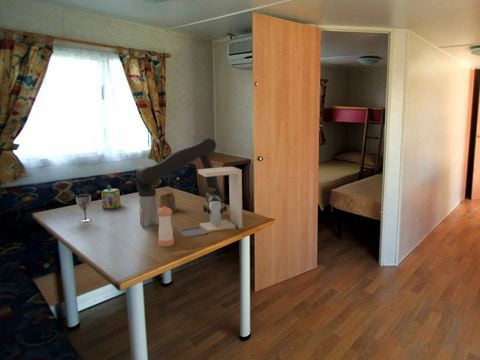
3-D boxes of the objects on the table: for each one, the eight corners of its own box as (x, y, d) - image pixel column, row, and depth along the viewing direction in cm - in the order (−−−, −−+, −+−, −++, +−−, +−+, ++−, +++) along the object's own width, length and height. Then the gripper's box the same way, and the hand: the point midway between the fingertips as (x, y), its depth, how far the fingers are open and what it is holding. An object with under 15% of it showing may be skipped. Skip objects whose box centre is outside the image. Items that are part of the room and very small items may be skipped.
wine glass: (87, 217, 214) (84, 193, 211) (96, 219, 210) (93, 195, 207) (75, 221, 207) (72, 196, 204) (84, 223, 203) (81, 198, 200)
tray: (184, 239, 176) (184, 236, 175) (178, 232, 186) (178, 229, 186) (207, 235, 181) (207, 232, 180) (200, 228, 191) (199, 226, 191)
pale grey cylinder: (212, 224, 187) (211, 204, 185) (208, 221, 193) (207, 202, 191) (222, 223, 190) (222, 203, 188) (218, 220, 195) (218, 200, 193)
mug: (146, 211, 226) (145, 192, 224) (171, 206, 237) (170, 188, 235) (155, 215, 218) (154, 196, 215) (180, 209, 229) (179, 191, 227)
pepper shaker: (155, 246, 168) (152, 207, 164) (166, 241, 174) (164, 203, 170) (166, 249, 164) (164, 209, 160) (177, 244, 170) (175, 205, 166)
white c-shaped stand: (207, 233, 184) (205, 173, 177) (199, 227, 194) (197, 169, 188) (242, 227, 192) (241, 169, 186) (233, 221, 203) (232, 166, 196)
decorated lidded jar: (115, 208, 233) (113, 186, 230) (102, 208, 233) (100, 186, 230) (121, 205, 242) (119, 183, 239) (108, 204, 242) (106, 183, 240)
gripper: (201, 197, 203) (201, 205, 186) (227, 196, 204) (228, 204, 188) (202, 210, 204) (202, 219, 188) (227, 209, 205) (229, 218, 189)
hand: (215, 212), depth 188 cm, fingers closed on pale grey cylinder, 6 cm apart
